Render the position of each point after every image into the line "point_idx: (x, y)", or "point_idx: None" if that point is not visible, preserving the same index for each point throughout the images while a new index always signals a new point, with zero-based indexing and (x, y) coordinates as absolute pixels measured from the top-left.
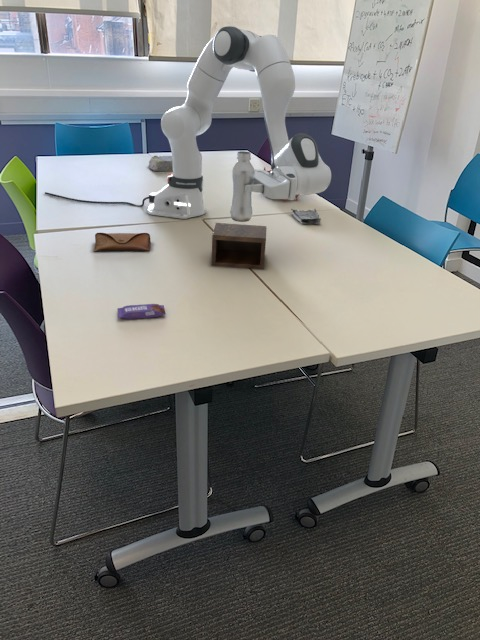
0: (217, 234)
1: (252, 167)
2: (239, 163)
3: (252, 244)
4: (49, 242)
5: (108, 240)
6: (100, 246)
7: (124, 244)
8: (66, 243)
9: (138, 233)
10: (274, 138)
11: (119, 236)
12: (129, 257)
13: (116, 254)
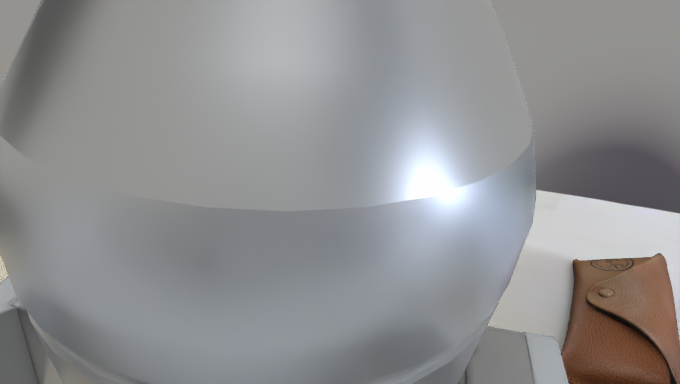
0: None
1: (24, 54)
2: None
3: None
4: (661, 220)
5: (614, 274)
6: (586, 262)
7: (584, 303)
8: (654, 240)
9: (659, 340)
10: None
11: (628, 289)
12: (510, 312)
13: (545, 295)
